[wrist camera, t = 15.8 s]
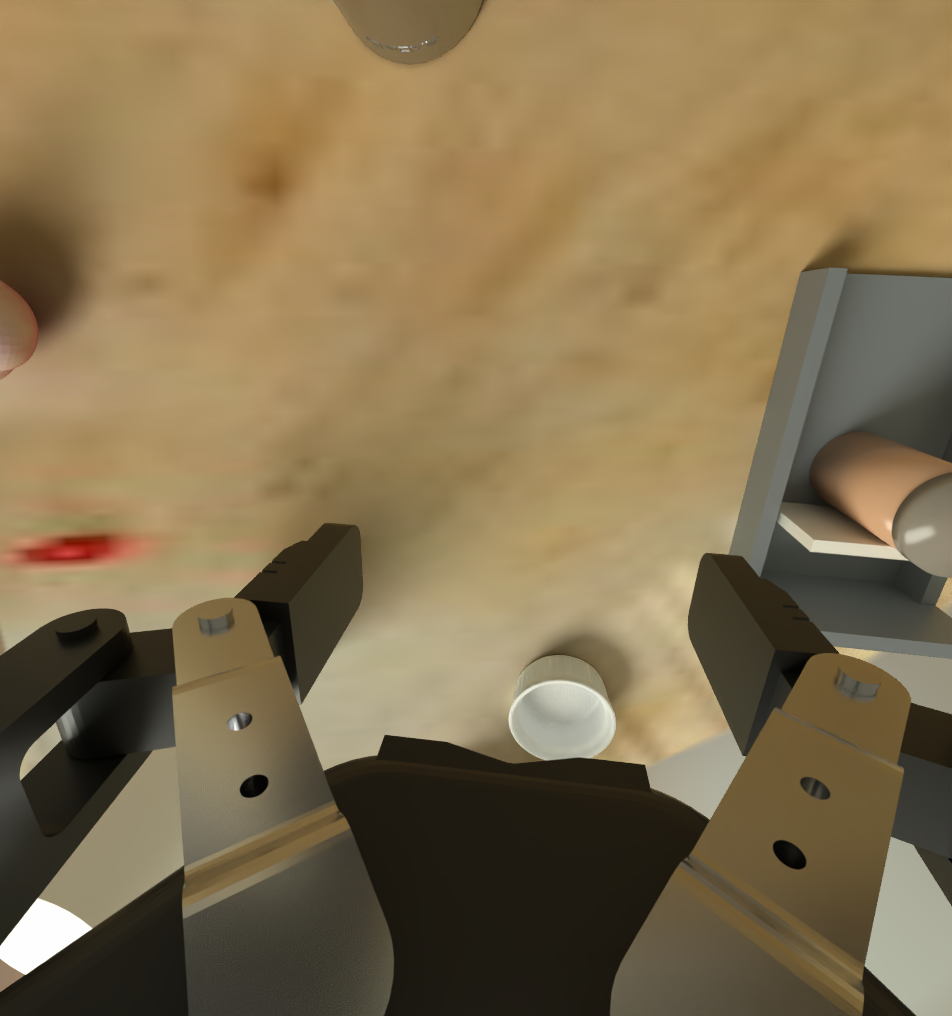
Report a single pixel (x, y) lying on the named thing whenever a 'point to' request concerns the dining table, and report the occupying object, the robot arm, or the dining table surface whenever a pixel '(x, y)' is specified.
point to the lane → (844, 409)
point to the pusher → (832, 532)
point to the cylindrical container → (106, 865)
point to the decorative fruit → (15, 330)
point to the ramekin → (561, 709)
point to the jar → (890, 495)
